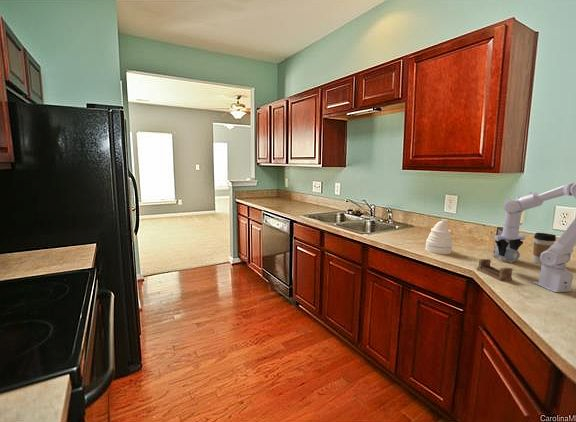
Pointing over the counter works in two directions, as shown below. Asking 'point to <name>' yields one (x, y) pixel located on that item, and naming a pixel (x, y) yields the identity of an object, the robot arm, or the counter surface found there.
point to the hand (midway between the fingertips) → (506, 255)
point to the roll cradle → (494, 270)
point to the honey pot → (439, 239)
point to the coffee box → (499, 232)
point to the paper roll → (509, 254)
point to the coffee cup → (542, 245)
